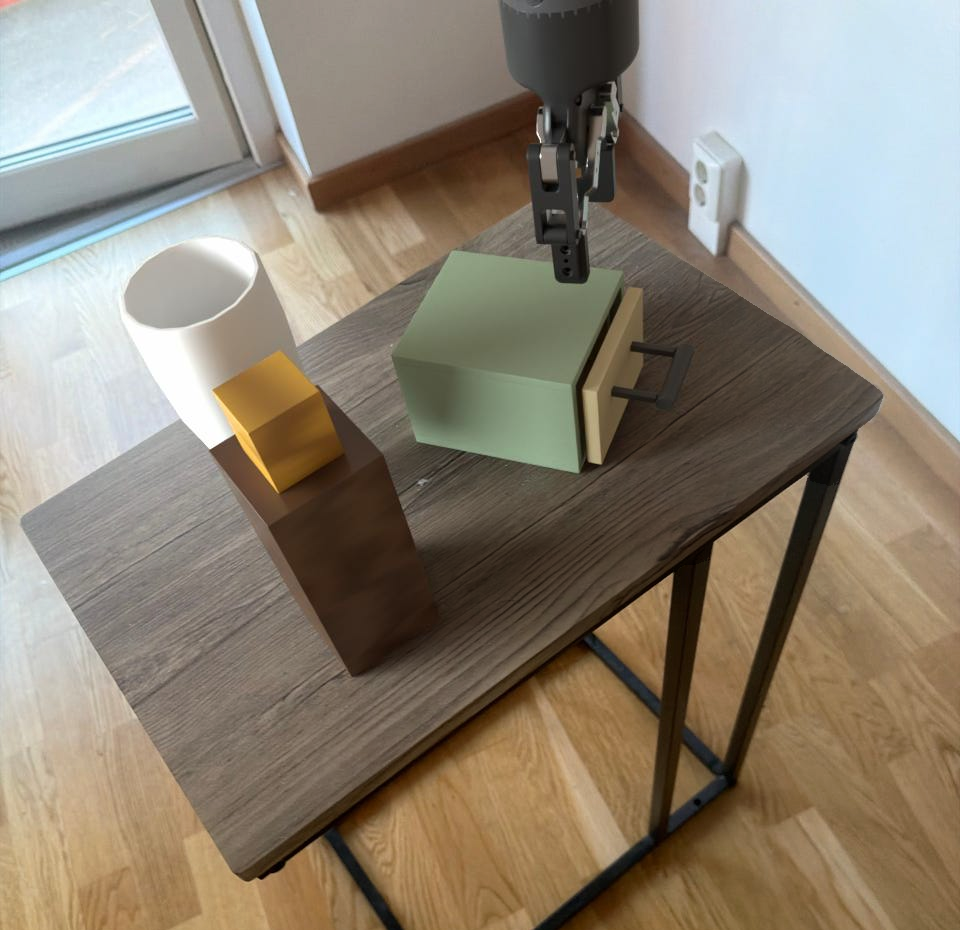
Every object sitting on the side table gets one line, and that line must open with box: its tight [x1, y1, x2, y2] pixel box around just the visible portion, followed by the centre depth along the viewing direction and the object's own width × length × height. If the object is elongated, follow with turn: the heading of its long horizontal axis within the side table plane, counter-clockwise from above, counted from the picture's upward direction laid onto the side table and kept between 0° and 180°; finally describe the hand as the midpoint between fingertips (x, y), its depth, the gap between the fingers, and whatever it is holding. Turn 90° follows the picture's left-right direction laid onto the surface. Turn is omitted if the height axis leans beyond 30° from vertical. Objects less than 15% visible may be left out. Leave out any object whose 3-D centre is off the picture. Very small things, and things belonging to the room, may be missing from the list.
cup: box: [118, 235, 308, 449], centre depth 69 cm, size 10×10×22 cm
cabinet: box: [390, 249, 625, 474], centre depth 76 cm, size 15×13×10 cm
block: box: [212, 350, 344, 493], centre depth 54 cm, size 5×5×5 cm
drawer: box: [576, 286, 695, 465], centre depth 74 cm, size 18×11×8 cm, turn 68°
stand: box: [208, 384, 441, 678], centre depth 63 cm, size 8×8×18 cm
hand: (586, 238), depth 63 cm, fingers open, 8 cm apart
